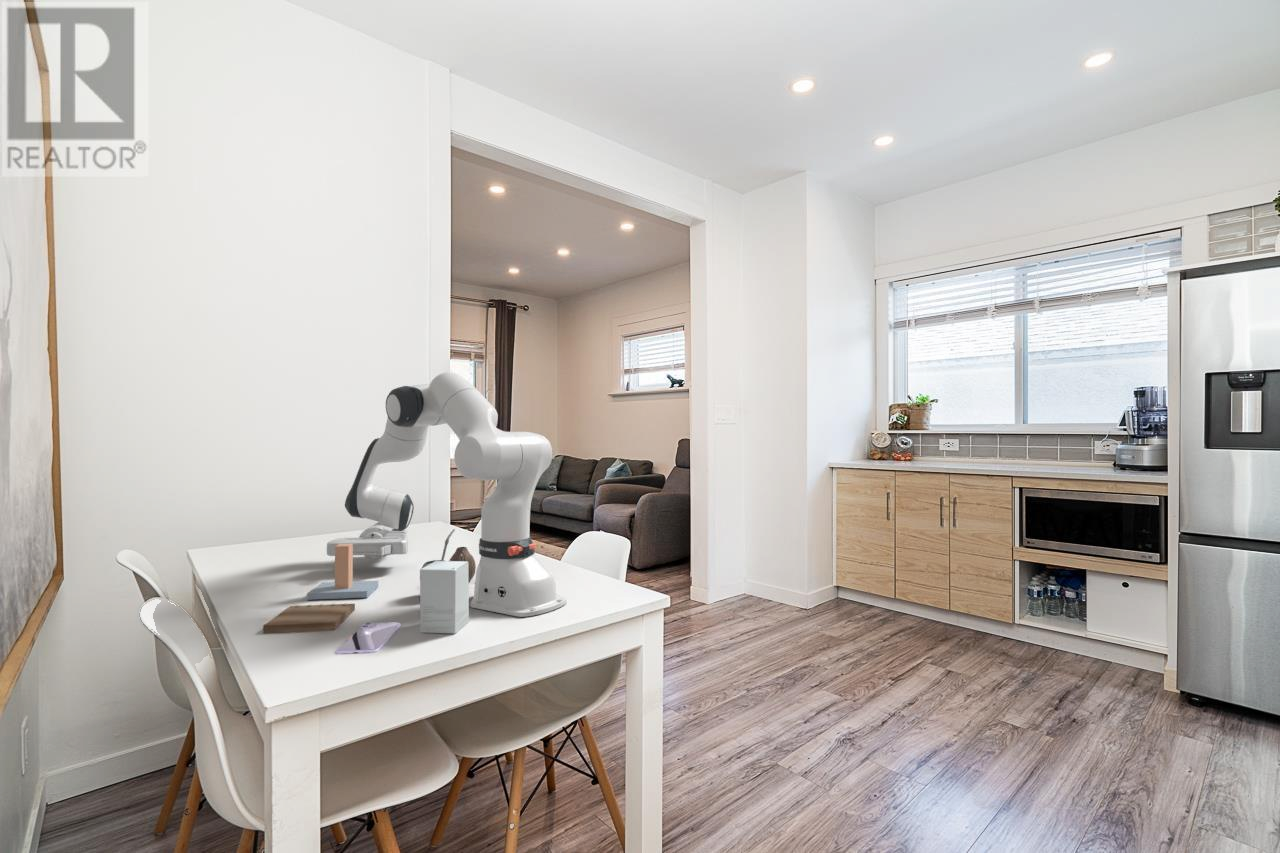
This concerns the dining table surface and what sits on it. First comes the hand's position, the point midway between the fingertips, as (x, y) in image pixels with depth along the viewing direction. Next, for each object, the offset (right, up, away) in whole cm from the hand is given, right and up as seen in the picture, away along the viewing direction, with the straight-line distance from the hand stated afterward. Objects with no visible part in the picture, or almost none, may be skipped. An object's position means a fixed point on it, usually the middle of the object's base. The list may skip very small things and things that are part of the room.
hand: (360, 552), depth 151 cm
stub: (+2, -7, -12) cm, 14 cm away
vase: (+26, -8, 0) cm, 27 cm away
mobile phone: (+21, -8, -40) cm, 46 cm away
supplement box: (+33, -8, -34) cm, 48 cm away
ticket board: (+5, -7, -31) cm, 32 cm away
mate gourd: (+24, -8, -13) cm, 29 cm away
